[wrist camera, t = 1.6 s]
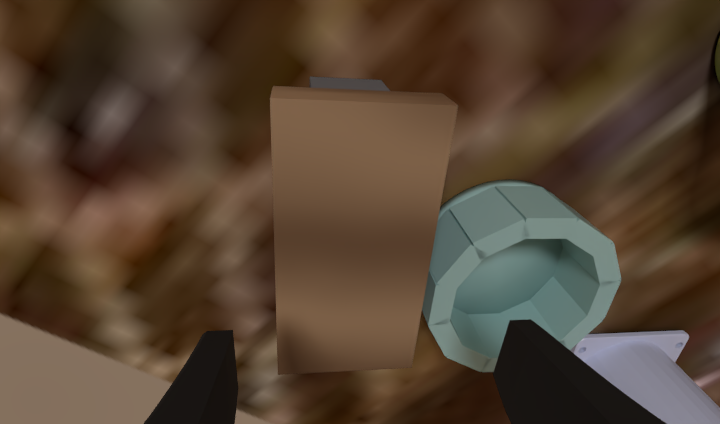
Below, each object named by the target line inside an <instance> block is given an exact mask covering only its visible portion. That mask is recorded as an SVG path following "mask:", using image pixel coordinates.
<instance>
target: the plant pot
mask: <svg viewBox="0 0 720 424" xmlns="http://www.w3.org/2000/svg"><path fill="white" fill-rule="evenodd" d="M715 69H716V74H717V78H718V81H719V83H720V36H719V39H718V43H717V47H716V52H715Z"/></svg>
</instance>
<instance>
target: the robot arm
mask: <svg viewBox="0 0 720 424" xmlns="http://www.w3.org/2000/svg"><path fill="white" fill-rule="evenodd" d="M688 339H689V335H688V334H687V333H686V332H685V331H683V330H676V331H653V332H630V333H606V334H587V335H586V336H585V337H584V338H583V339H582V340H581V341H580V342H579V343H577V344H576V345H575V346H574V347H573V348H572V349H571V350H569V349H568V348H566V347H565V346H564V345H563V344H561V343H560V342H559V341H558V340H557V339H555V338H554V337H553V336H552V335H550V334H549V333H548V332H547V331H545V330H544V329H543V328H542V327H540V326H539V325H538V324H536V323H535V322H534V321H532V320H531V319H528V320H510V321H509V324H508V327H507V330H506V334H505V337H504V340H503V343H502V347H501V350H500V353H499V356H498V360H497V363H496V366H495V369H494V372H493V375H494V379H495V382H496V385H497V388H498V391H499V394H500V397H501V399H502V402H503V405H504V408H505V410H506V413H507V415H508V417H509V419H510V421H511V424H720V408H719V407H718V405H717V404H716V403H715V402H714V401H713V400H712V399H711V398H710V397H709V396H708V395H707V394H706V393H705V392H704V391H703V390H702V389H701V388H700V387H699V386H698V385H697V384H696V383H695V382H694V381H693V380H692V379H691V378H690V377H689V376H688V375H687V374H686V373H685V372H684V371H683V370H682V369H681V368H680V367H679V366H678V365H677V364H676V363H675V361H676V360H677V358H678V356H679V355H680V353H681V351H682V349H683V348H684V346H685V344H686V343H687V341H688ZM237 395H238V381H237V370H236V360H235V349H234V338H233V330H226V331H207V332H205V333H204V334H203V335H202V337H201V339H200V340H199V342H198V344H197V346H196V347H195V349H194V351H193V352H192V354H191V356H190V357H189V359H188V360H187V362H186V364H185V365H184V367H183V368H182V370H181V371H180V373H179V374H178V376H177V378H176V379H175V381H174V382H173V383H172V385H171V386H170V388H169V389H168V391H167V392H166V394H165V395H164V396H163V398H162V399H161V401H160V402H159V404H158V405H157V407H156V408H155V409H154V411H153V412H152V413H151V415H150V416H149V418H148V419H147V420H146V421H145V423H144V424H234V423H235V414H236V405H237Z"/></svg>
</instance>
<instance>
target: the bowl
mask: <svg viewBox="0 0 720 424" xmlns="http://www.w3.org/2000/svg"><path fill="white" fill-rule="evenodd" d="M620 279H621V275H620V270H619V265H618V260H617V256H616V251H615V246H614V243H613V241H612V240H610V239H609V238H608V237H607V236H605V235H604V234H603V233H602V232H601V231H599V230H598V229H597V228H596V227H595V226H593V225H592V224H591V223H590V222H588V221H587V220H586V219H585V218H584V217H582V216H581V215H580V214H579V213H577V212H576V211H575V210H574V209H573V208H571V207H570V206H568V205H567V204H566V203H564V202H563V201H561V200H560V199H558V198H557V197H556V196H555V195H553V194H552V193H551V192H550V191H548V190H547V189H545V188H543V187H541V186H539V185H537V184H534V183H531V182H527V181H522V180H511V179H509V180H496V181H490V182H486V183H482V184H479V185H476V186H473V187H471V188H469V189H466V190H464V191H462V192H461V193H459V194H457V195H455V196H454V197H452V198H451V199H449V200H448V201H447V202H445V203H444V204H443V205H442V206H441V207H440V211H439V216H438V222H437V228H436V233H435V239H434V244H433V250H432V256H431V261H430V267H429V272H428V278H427V284H426V289H425V295H424V301H423V306H422V311H423V314H424V316H425V319H426V322H427V324H428V327H429V329H430V330H431V332H432V334H433V336H434V337H435V339H436V341H437V343H438V345H439V346H440V348H441V350H442V352H443V353H444V355H445V356H446V358H449V359H451V360H453V361H456V362H458V363H460V364H463V365H465V366H467V367H470V368H472V369H474V370H477V371H479V372H481V371H482V372H494V369H495V366H496V363H497V360H498V356H499V353H500V350H501V347H502V343H503V340H504V337H505V334H506V330H507V327H508V324H509V321H510V320H528V319H531V320H532V321H534V322H535V323H536V324H538V325H539V326H540V327H542V328H543V329H544V330H545V331H547V332H548V333H549V334H550V335H552V336H553V337H554V338H555V339H557V340H558V341H559V342H560V343H561V344H563V345H564V346H565V347H566V348H568V349H569V350H571V349H572V348H573V347H574V346H575V345H576V344H577V343H579V342H580V341H581V340H582V339H583V338H584V337H585V336H586V335H587V334H588V333H590V332H591V331H592V330H593V329H594V328H595V327H596V326H597V325H598V324H599V323H601V322H602V321H603V319H604V318H605V316H606V314H607V311H608V309H609V307H610V305H611V302H612V300H613V298H614V296H615V293H616V291H617V289H618V287H619V284H620V282H621V280H620Z"/></svg>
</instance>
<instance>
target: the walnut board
mask: <svg viewBox="0 0 720 424" xmlns="http://www.w3.org/2000/svg"><path fill="white" fill-rule="evenodd" d="M457 110H458V105H457V104H455V103H454V102H453V101H451V100H450V99H449V98H448V97H446V96H445V95H444V94H442V93H420V92H397V91H375V90H352V89H330V88H307V87H285V86H273V88H272V92H271V96H270V113H271V148H272V182H273V216H274V251H275V285H276V320H277V354H278V375H281V374H300V373H319V372H338V371H358V370H377V369H396V368H412V362H413V357H414V351H415V345H416V340H417V334H418V329H419V323H420V317H421V312H422V306H423V301H424V295H425V289H426V284H427V278H428V272H429V267H430V261H431V256H432V250H433V244H434V239H435V233H436V228H437V222H438V216H439V211H440V205H441V200H442V194H443V188H444V183H445V177H446V171H447V166H448V160H449V155H450V149H451V143H452V138H453V132H454V127H455V121H456V115H457Z"/></svg>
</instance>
